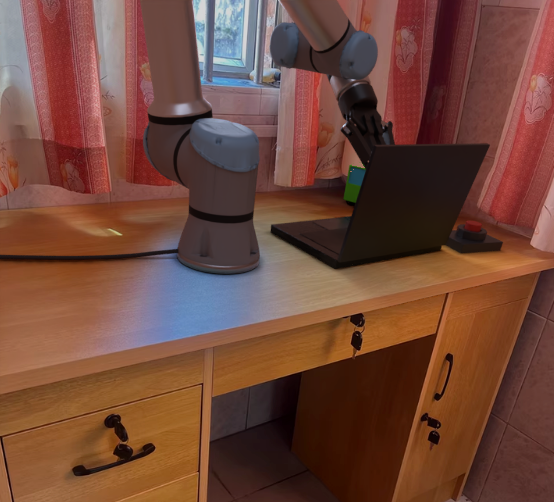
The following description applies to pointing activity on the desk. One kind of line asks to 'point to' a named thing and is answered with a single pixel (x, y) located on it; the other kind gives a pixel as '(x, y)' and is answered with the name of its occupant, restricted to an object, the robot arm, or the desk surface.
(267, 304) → the desk surface
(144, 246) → the desk surface
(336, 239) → the laptop
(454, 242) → the switch box
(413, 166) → the laptop screen
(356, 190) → the toy car
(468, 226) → the power button
